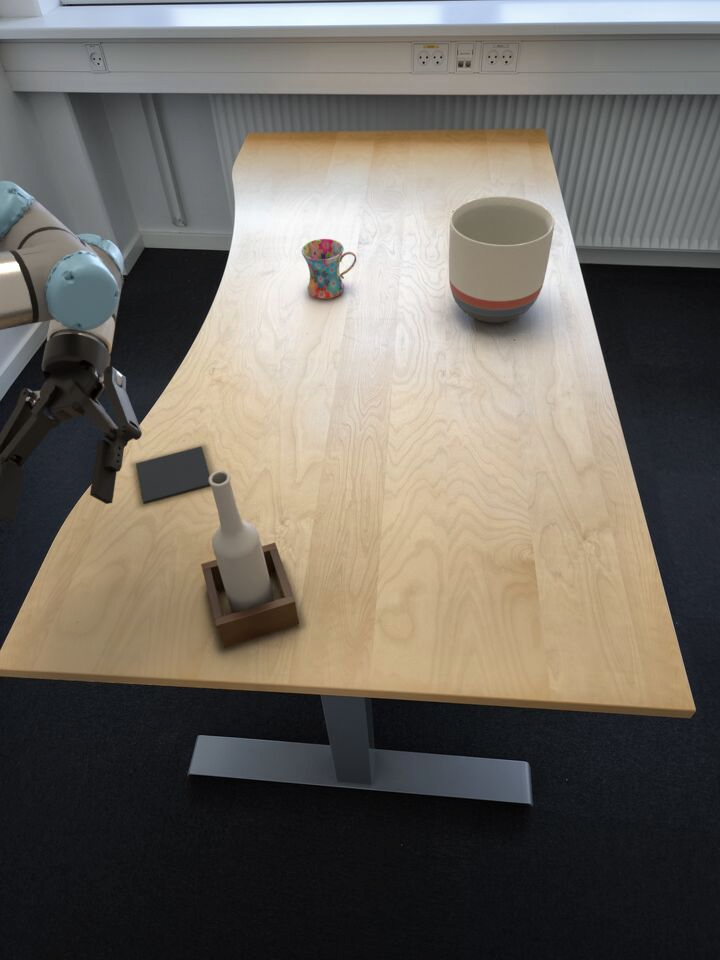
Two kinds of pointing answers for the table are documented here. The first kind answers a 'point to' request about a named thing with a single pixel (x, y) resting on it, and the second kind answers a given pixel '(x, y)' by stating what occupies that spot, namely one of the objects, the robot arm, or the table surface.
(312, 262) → the mug
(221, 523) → the bottle
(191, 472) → the mat
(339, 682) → the table surface
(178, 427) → the table surface
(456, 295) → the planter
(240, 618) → the holder
